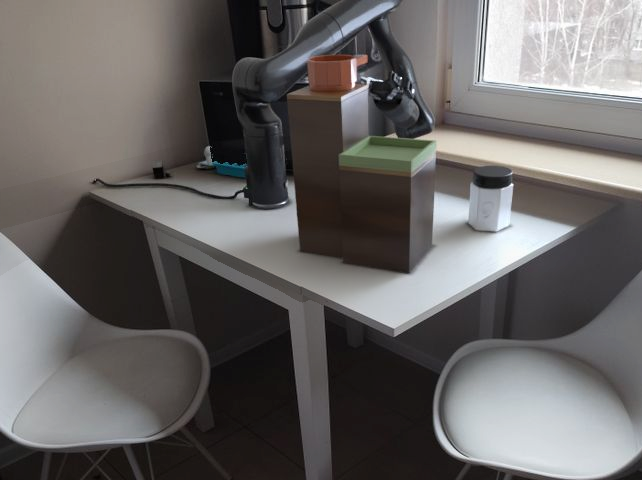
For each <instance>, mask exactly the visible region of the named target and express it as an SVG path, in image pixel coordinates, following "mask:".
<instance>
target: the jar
mask: <svg viewBox="0 0 642 480" xmlns="http://www.w3.org/2000/svg"><path fill="white" fill-rule="evenodd" d="M513 173H514V172H513V169H511V168H509V167H506V166H503V165H483V166H479V167H476V168H474V170H473V175H472V181H471V182H470V187H469V199H468V200H469V201H468V214H467V215H468V217H467V223H468V224H469V225H470V226H471V227H472V228H473V229H474V230H475V231H482V232H499V231H502V230H503V229H505V228H507V227H509V226H510V220H511V212H512V201H513V195H514V194H513V193H514V183H512V182H513Z"/></svg>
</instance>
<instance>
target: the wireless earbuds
mask: <svg viewBox="0 0 642 480" xmlns="http://www.w3.org/2000/svg"><path fill="white" fill-rule="evenodd" d="M151 165H152V166H151V167H152V173H153V177H154V179H164V177H165V178H170V177H172V175H171V172H170V171H166V172H165V168H164V163H163V161H162V160H158V161H152V163H151Z"/></svg>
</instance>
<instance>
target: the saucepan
mask: <svg viewBox="0 0 642 480" xmlns="http://www.w3.org/2000/svg"><path fill="white" fill-rule="evenodd" d="M367 63H368V54H355V55H351V54H334V55H322V56H315V57H311V58H308V59H307V68H308V73H307V80H308V86H309V89H310V90H313V91H319V92H335V91H345V90H350V89H353V88H355V87H356V86H357V83H356V81H357V72H358V70H357V69H358V68H357V67H359V66H362V65H364V64H367Z"/></svg>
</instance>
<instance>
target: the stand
mask: <svg viewBox="0 0 642 480" xmlns="http://www.w3.org/2000/svg"><path fill="white" fill-rule="evenodd" d="M286 102H287V103H286V104H287V113H288V125H289V126H288V127H289V136H290V149H291V150H290V151H291V158H292V175H293V183H294V197H295V208H296V219H297V220H296V222H297V232H298V233H297V234H298V242H299V243H298V244H299V252H301V253H302V252H303V253H310V254H316V255H322V256H327V257H333V258H334V257H335V258H339V259H342V261H343V264H349V265H355V266H362V267H368V268H374V269H380V270H385V271H386V270H387V271H392V272H400V273H405V274H410V273H411V272H412V271H413V269H415V267H416V266H417V265H418V263H419V262H420V261H421V260H422V259H423V257H424V256H425V255H426V254H427V253H428V251H429V250H430V249H431V248H432V246H433V234H434V213H435V212H434V211H435V186H436V185H435V184H436V159H437V151H436V152H434V153H433V154H432V155H431V156H430V157H429V158H427V159H426V160H425V161H424V162H423V163H422V164H420V165H419V166H418V167H417V168H416V169H415V170H413V171H412V172H401V171H391V170H381V169H370V168H360V167H349V166H339V154H341V153H342V152H344V151H345V150H347V149H348V148H350V147H352V146H353V145H355V144H356V143H358V142H360V141H361V140H363V139H364V138H366V137H368V136H370V135H369V134H370V133H369V95H368V84H364V83H363V84H357V86H356V87H355V88H353V89H350V90H345V91H335V92H319V91H313V90H310V89H309V85H307V86H304V87H301V88H299V89H297V90H294V91H291V92H289V93H287V94H286Z"/></svg>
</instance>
